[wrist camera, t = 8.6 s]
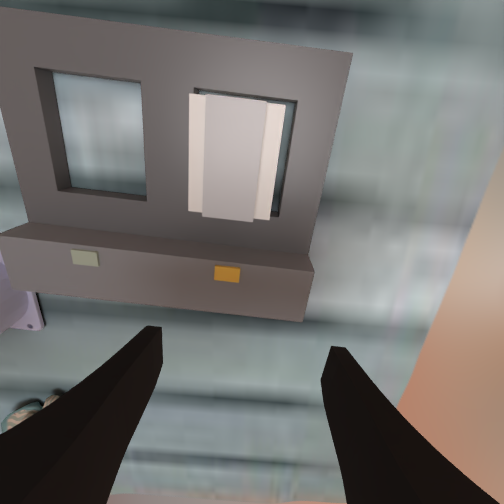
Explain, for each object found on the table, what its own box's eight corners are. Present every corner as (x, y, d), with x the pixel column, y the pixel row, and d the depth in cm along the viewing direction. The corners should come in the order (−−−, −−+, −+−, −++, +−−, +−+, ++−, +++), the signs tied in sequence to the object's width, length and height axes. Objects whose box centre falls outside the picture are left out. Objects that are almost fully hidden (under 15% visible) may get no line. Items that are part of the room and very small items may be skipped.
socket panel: (54, 263, 22) (9, 291, 18) (-2, 13, 15) (-91, -26, 11) (295, 290, 22) (302, 324, 18) (345, 59, 15) (373, 35, 12)
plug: (210, 186, 19) (185, 214, 12) (214, 106, 17) (185, 91, 10) (266, 192, 19) (269, 224, 12) (277, 114, 17) (287, 103, 10)
